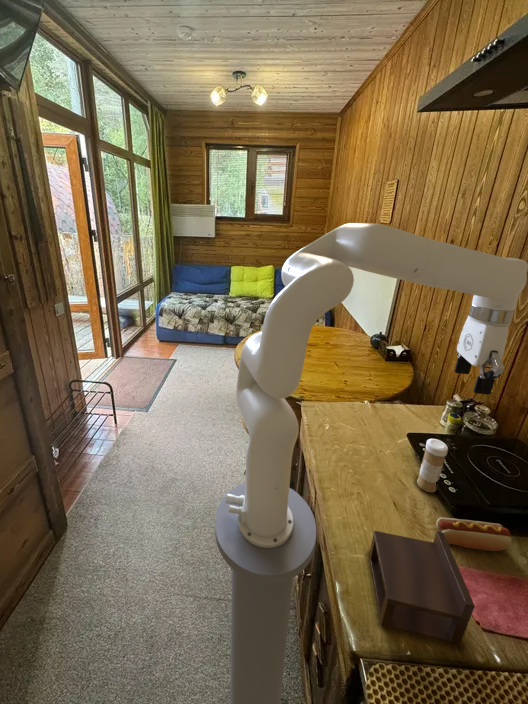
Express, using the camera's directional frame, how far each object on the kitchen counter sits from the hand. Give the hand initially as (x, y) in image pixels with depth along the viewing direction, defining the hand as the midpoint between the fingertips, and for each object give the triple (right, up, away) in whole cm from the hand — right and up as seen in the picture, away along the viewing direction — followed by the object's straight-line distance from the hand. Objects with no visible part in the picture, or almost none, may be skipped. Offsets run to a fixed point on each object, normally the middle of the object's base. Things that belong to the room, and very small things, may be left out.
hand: (470, 382), depth 73 cm
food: (-5, -33, -7) cm, 34 cm away
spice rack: (-24, -36, -16) cm, 46 cm away
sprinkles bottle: (-6, -29, +7) cm, 30 cm away
